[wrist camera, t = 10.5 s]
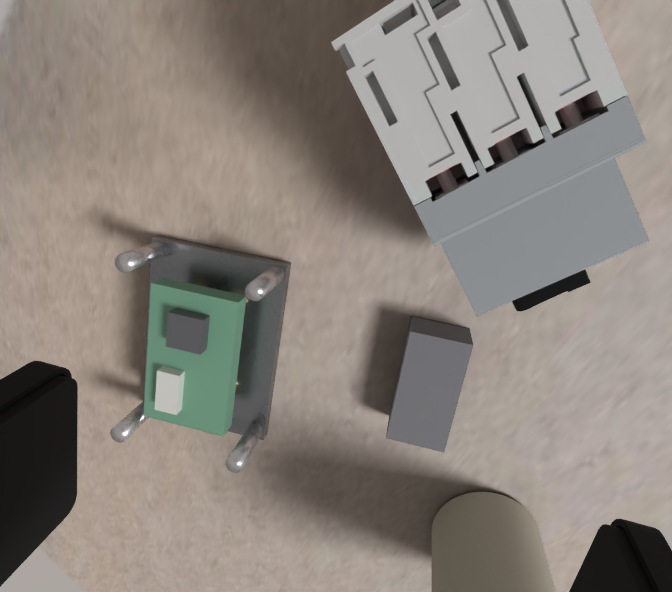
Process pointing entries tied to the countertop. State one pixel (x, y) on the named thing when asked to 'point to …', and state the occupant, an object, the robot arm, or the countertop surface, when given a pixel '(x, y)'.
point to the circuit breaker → (503, 137)
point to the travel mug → (487, 547)
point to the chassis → (258, 327)
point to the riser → (429, 383)
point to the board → (193, 355)
